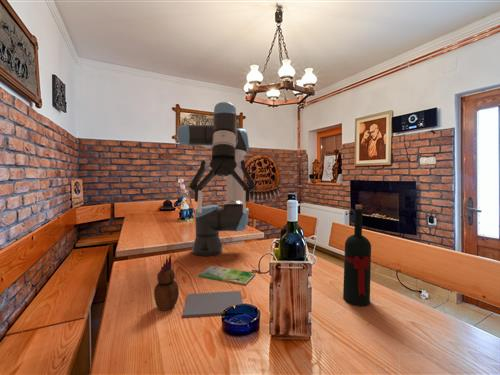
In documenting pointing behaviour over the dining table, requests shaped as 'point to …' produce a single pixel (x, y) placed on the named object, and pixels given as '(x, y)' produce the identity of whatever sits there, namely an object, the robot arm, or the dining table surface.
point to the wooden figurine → (166, 287)
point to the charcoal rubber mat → (210, 303)
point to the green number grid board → (227, 275)
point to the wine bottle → (357, 265)
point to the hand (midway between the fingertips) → (221, 212)
